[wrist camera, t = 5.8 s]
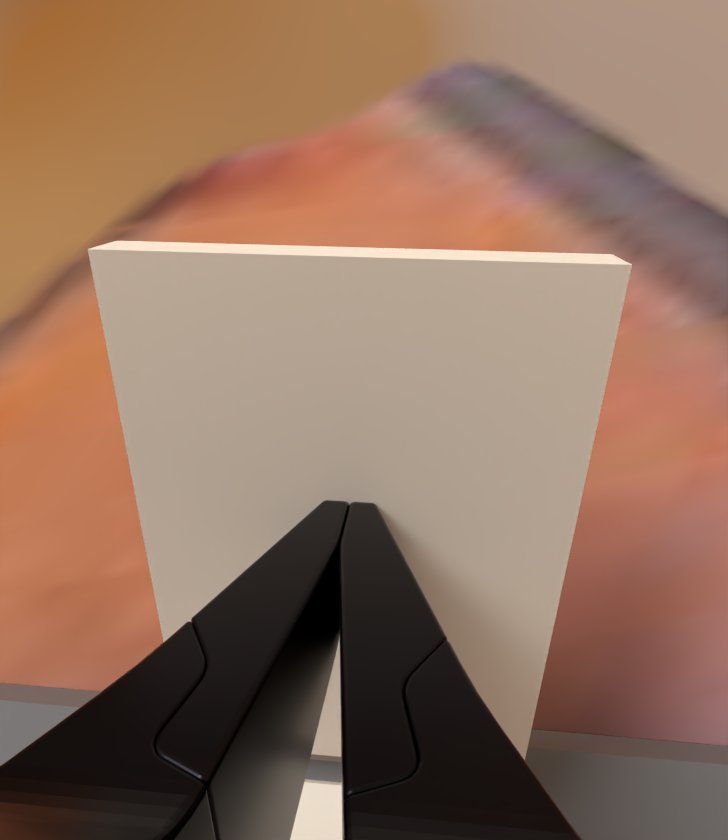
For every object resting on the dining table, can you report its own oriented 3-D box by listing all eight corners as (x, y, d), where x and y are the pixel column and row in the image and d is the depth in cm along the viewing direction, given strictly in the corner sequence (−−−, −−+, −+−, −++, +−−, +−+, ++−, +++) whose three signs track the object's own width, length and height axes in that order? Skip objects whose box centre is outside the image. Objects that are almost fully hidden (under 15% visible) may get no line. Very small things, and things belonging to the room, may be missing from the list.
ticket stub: (521, 774, 11) (631, 264, 7) (182, 742, 12) (87, 249, 7) (514, 732, 12) (609, 252, 8) (198, 704, 13) (119, 239, 8)
